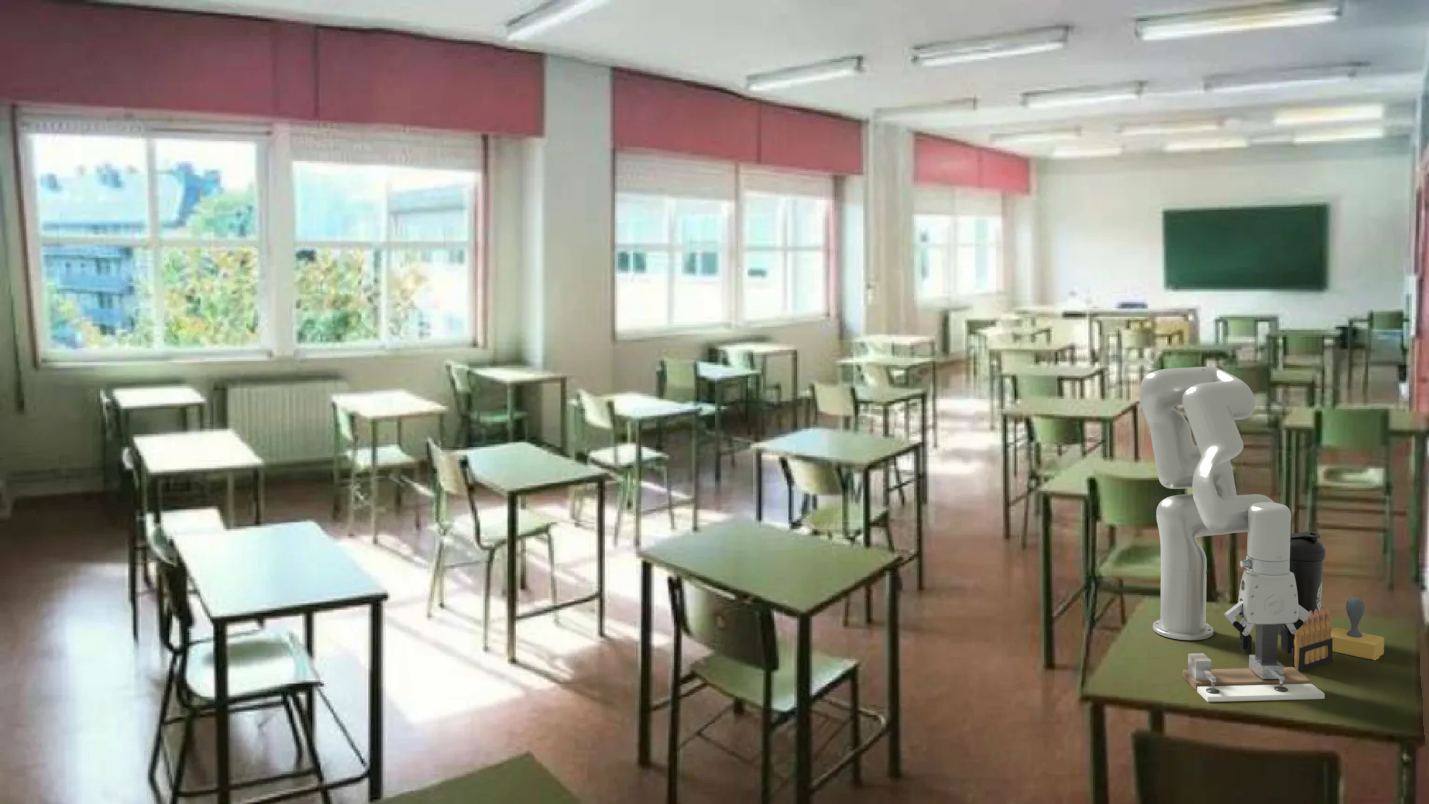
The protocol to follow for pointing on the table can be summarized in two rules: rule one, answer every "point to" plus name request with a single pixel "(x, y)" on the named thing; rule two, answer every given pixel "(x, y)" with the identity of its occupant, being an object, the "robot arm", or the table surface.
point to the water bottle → (1307, 569)
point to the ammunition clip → (1313, 641)
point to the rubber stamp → (1356, 635)
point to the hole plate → (1260, 692)
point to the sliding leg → (1266, 654)
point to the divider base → (1232, 675)
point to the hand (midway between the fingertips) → (1266, 651)
